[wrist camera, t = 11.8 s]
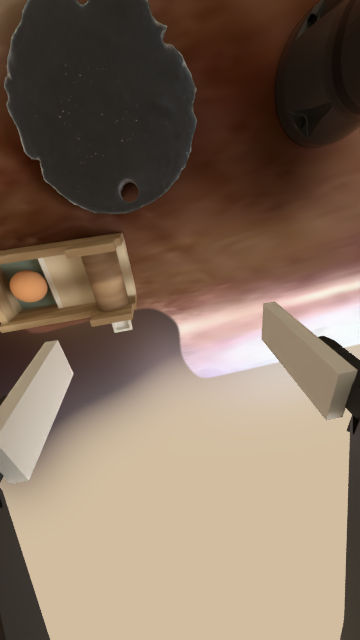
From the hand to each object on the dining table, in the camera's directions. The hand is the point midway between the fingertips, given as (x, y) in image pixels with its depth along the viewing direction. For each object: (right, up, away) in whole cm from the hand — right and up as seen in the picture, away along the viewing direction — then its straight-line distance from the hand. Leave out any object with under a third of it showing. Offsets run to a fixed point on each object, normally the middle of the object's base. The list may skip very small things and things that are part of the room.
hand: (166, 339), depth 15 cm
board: (-9, +28, +17) cm, 33 cm away
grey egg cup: (-10, +2, +29) cm, 31 cm away
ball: (-23, +7, +21) cm, 32 cm away
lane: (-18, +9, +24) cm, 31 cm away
